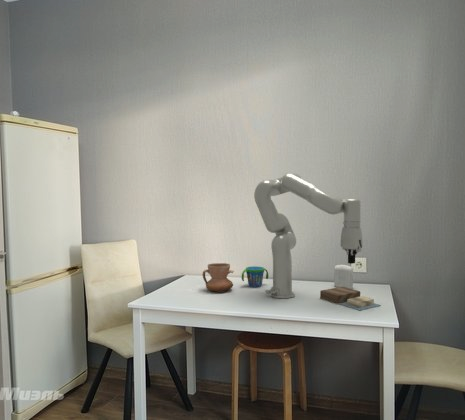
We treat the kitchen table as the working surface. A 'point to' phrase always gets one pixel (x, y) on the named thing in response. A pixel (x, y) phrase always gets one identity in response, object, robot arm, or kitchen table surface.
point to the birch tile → (360, 301)
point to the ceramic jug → (218, 277)
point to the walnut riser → (338, 294)
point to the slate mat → (360, 307)
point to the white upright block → (343, 276)
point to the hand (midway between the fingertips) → (351, 263)
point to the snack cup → (254, 275)
